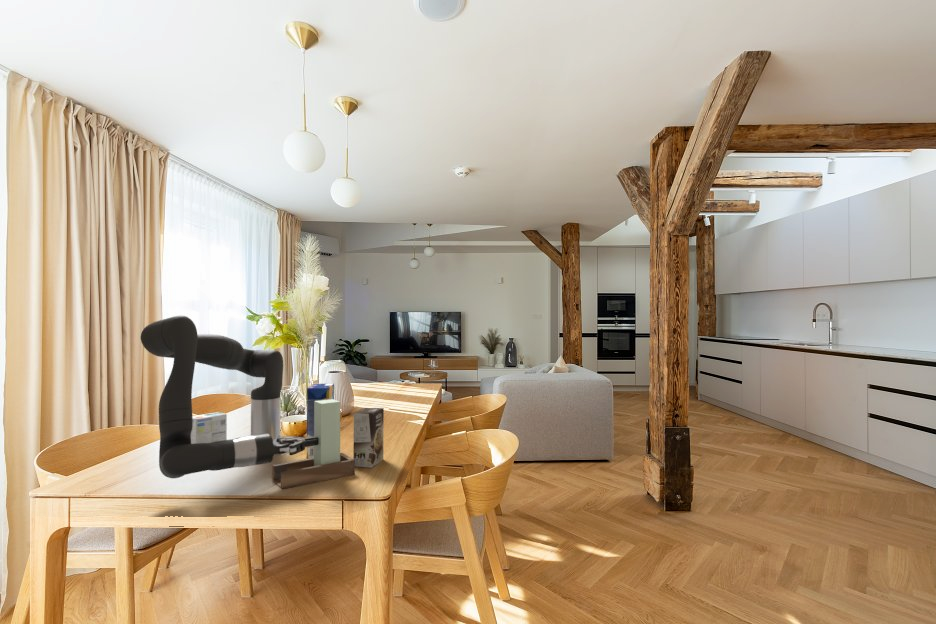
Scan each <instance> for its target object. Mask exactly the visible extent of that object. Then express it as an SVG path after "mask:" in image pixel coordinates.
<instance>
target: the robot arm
mask: <svg viewBox="0 0 936 624" xmlns="http://www.w3.org/2000/svg"><path fill="white" fill-rule="evenodd" d="M140 341H141V344H142V346H143V348H144V349H145V350H146V351H147V352H148V353H150V354H151V355H153V356H156V357H161V358H171V359H173V364H172V367H171V368H172V369H171V372H170V374H169V377H168V379H167V382H166V384H165V386H164V388H163V389H162V392H161V395H160V398H159V401H158V427H159V428H158V430H159V438H160V439H159V452H158V453H159V456H158V466H159V470H160V472H161V474H162V475H163V476H165V477H166V478H169V479H179V478H182V477H184V476H187V475H191V474H195V473H200V472H205V471H215V472H216V471H221V470H228V469H232V468H233V469H234V468H246V467H247V468H248V467H252V466H257V465H263V464H270V463H271V462H273V459H274V456H275V455H279V456H284V455H287V454H288V455H289V456H294V455H297V454H298V453H301V452H303V451H306V450H305V449H306V448H307V447H309V446H315V445H318V437H316V436H314V437H307V436H306V437H303V436H300V437H299V436H298V435H296V436H292V435H290V436H289V435H288V436H285V435H284V436H281V395H282V389H283V377H284V376H283V375H284V358H283V354H282V353H281V352H280V351H279V350H275V349H266V350H265V349H248V348H244V347H243V344H241V343H240V342H239V341H237V339H233V338H230V337H227V336H224V335H221V334H220V335H219V334H212V333H211V334H209V333H208V334H206V333H204V334H198V329H197V327H196V324H195V322H194V321H193V320H192V319H191V318H189V317H188V316H186V315H175V316H171V317H167V318H163V319H160V320H157V321H153V322H151V323H150V324H148V325H146V326H145V327H143V329H142V331H141V333H140ZM196 363H198V364H202V365H207V366H210V367H213V368H217V369H223V370H224V369H225V370H229V371H230V370H231V371H238V372H241V373H243V374H245V375H247V376H250V377H253V378H264V383H263V385H260V386H259V387H256V388H253V389H252V390H251V392H250V435H246V436H240V437H236V438H232V439H227V440H224V441H217V442H212V443H195V444H191V432H192V427H193V421H192V420H193V419H192V416H193V405H192V404H193V402H192V399H193V395H192V394H193V393H192V391H193V381H194V373H195V366H196Z"/></svg>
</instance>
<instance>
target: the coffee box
mask: <svg viewBox="0 0 936 624" xmlns="http://www.w3.org/2000/svg"><path fill="white" fill-rule="evenodd" d="M384 417H385V416H384V407H365V408H362V409H359V410H357V411H355V412H353V451H352V452H353V458H352V459H354V460H355V467H360V468H369V469H371V468H374V467H375V466H376V465H377V464H379V463H380V462H382V461H383V460H384V428H385V427H384V423H385V422H384V420H385V419H384Z"/></svg>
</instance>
